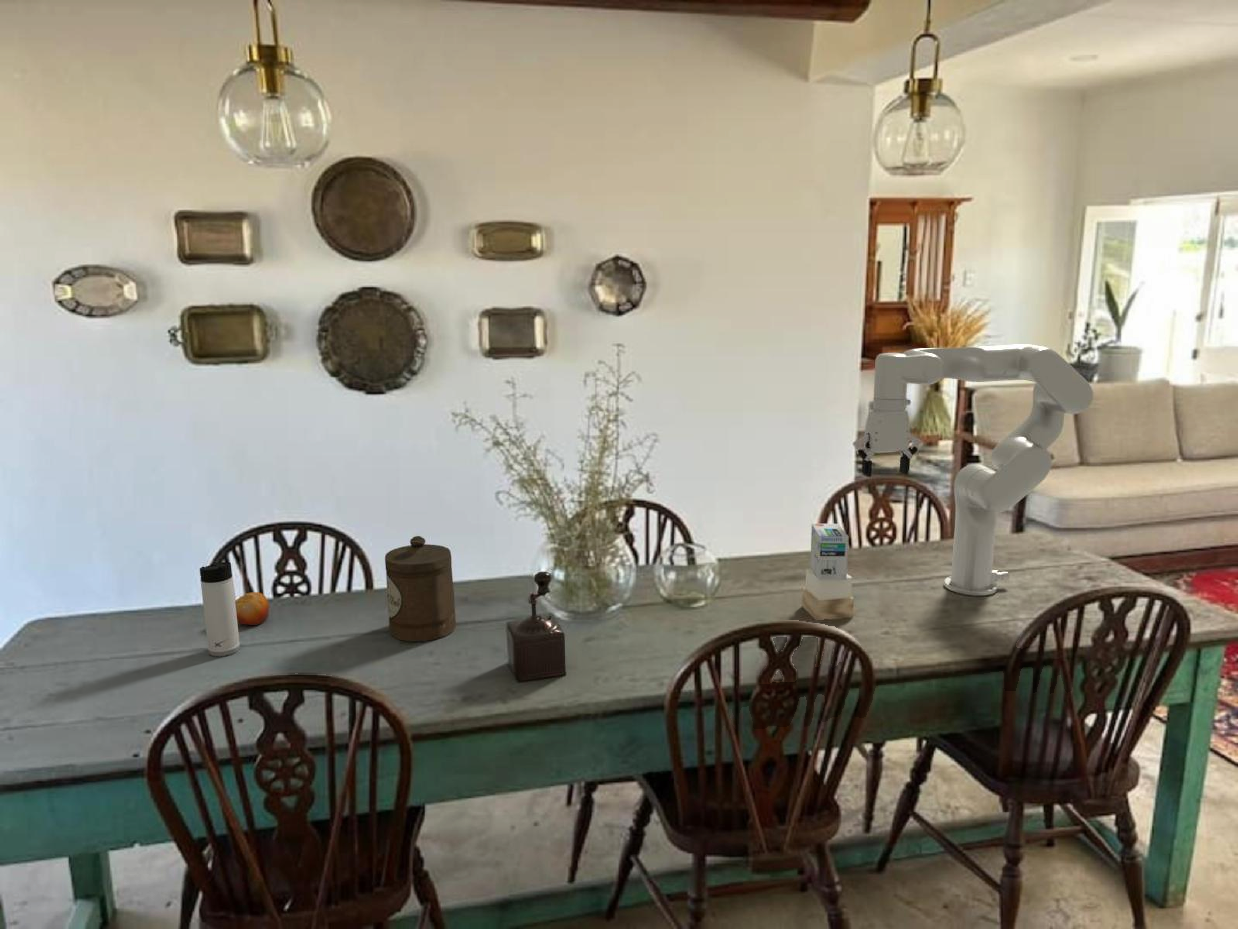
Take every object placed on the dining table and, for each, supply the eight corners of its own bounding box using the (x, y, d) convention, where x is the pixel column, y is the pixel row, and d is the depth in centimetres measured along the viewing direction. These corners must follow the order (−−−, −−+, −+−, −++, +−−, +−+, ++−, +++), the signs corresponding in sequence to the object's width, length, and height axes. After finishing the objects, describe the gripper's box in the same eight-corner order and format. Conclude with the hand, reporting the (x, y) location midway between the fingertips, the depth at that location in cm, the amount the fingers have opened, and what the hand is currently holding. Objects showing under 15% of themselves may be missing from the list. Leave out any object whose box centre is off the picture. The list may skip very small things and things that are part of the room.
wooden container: (394, 618, 220) (388, 528, 215) (458, 615, 221) (453, 526, 216) (384, 644, 205) (378, 548, 201) (453, 641, 207) (448, 546, 202)
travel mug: (221, 659, 198) (212, 570, 194) (202, 653, 201) (192, 564, 197) (247, 649, 203) (238, 561, 199) (228, 643, 207) (218, 556, 202)
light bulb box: (847, 581, 214) (849, 535, 212) (818, 581, 214) (820, 536, 212) (836, 565, 225) (838, 522, 222) (808, 565, 225) (810, 522, 222)
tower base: (837, 604, 227) (838, 585, 226) (852, 618, 218) (853, 598, 217) (802, 607, 225) (802, 588, 224) (816, 621, 217) (817, 601, 215)
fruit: (283, 610, 221) (267, 588, 216) (263, 637, 216) (246, 615, 211) (258, 605, 225) (242, 584, 219) (238, 631, 220) (220, 610, 214)
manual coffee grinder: (570, 676, 189) (568, 592, 185) (516, 683, 186) (513, 598, 182) (552, 646, 204) (550, 567, 200) (502, 652, 200) (499, 573, 196)
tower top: (836, 586, 225) (837, 566, 224) (851, 597, 217) (852, 577, 216) (805, 588, 224) (806, 569, 222) (819, 600, 216) (819, 580, 215)
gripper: (914, 401, 229) (910, 469, 232) (848, 404, 225) (845, 473, 229) (930, 406, 222) (925, 476, 225) (862, 409, 218) (859, 480, 222)
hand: (885, 474), depth 227 cm, fingers open, 9 cm apart
